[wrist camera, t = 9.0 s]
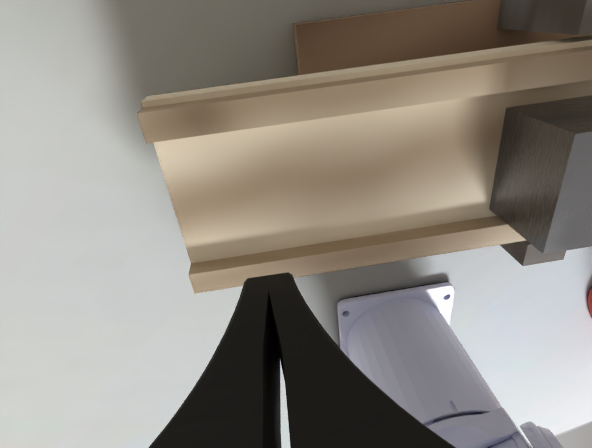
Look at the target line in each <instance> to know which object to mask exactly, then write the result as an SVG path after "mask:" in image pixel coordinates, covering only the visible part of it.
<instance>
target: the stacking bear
mask: <svg viewBox="0 0 592 448" xmlns="http://www.w3.org/2000/svg"><path fill="white" fill-rule="evenodd" d="M588 305H589V311H590V314H591V317H592V288H591V290H590V292H589V296H588Z"/></svg>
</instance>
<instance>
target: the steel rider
mask: <svg viewBox="0 0 592 448" xmlns="http://www.w3.org/2000/svg"><path fill="white" fill-rule="evenodd" d="M489 210H491V211H492V212H493V213H494V214H495V215H497V216H498V217H499V218H500V219H501V220H503V221H504V222H505V223H506V224H508V225H509V226H510V227H511V228H512V229H514V230H515V231H516V232H517V233H518V234H520V235H521V236H522V237H523V238H524V239H526V240H527V241H528V242H529V243H530V244H532V245H533V246H534V247H535V248H537V249H538V250H539V251H540V252H541V253H543V254H546V253H553V252H559V251H565V250H571V249H577V248H583V247H590V246H592V95H590V96H583V97H576V98H569V99H562V100H555V101H548V102H542V103H535V104H528V105H521V106H514V107H507V108H506V111H505V117H504V123H503V129H502V135H501V141H500V147H499V153H498V159H497V165H496V171H495V177H494V183H493V189H492V194H491V200H490V206H489Z"/></svg>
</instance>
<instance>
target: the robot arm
mask: <svg viewBox="0 0 592 448" xmlns="http://www.w3.org/2000/svg"><path fill="white" fill-rule="evenodd" d="M446 294H447V295H446ZM444 295H446V296H444ZM453 296H454V287H453V285H452V284H451V283H449V282H445V283H439V284H433V285H427V286H421V287H415V288H409V289H403V290H397V291H391V292H385V293H379V294H373V295H367V296H361V297H355V298H349V299H343V300H341V301H339V303H338V304H337V311H338V324H339V337H340V348H339V347H338V346H337V344H336V343H335V342H334V341H333V340H332V338H331V337H330V336H329V335H328V333H327V332H326V331H325V330H324V328H323V327H322V325H321V324H320V323H319V321H318V320H317V319H316V317H315V316H314V314H313V313H312V311H311V310H310V308H309V307H308V305H307V304H306V302H305V300H304V299H303V297H302V295H301V293H300V291H299V290H298V288H297V285H296V283H295V281H294V278H293V275H292V274H290V273H289V272H286V273H280V274H273V275H266V276H259V277H253V278H247V279H246V280H245V282H244V285H243V289H242V292H241V295H240V298H239V301H238V303H237V306H236V308H235V311H234V313H233V316H232V318H231V320H230V322H229V325H228V327H227V329H226V331H225V334H224V336H223V338H222V339H221V341H220V343H219V345H218V347H217V349H216V351H215V353H214V355H213V357H212V359H211V360H210V362H209V364H208V365H207V367H206V369H205V371H204V372H203V374H202V376H201V377H200V379H199V380H198V382H197V383H196V385H195V387H194V388H193V390H192V391H191V393H190V394H189V395H188V397H187V398H186V400H185V401H184V403H183V404H182V405H181V407H180V408H179V410H178V411H177V412H176V414H175V415H174V417H173V418H172V419H171V421H170V422H169V423H168V424H167V426H166V427H165V428H164V430H163V431H162V432H161V433H160V434H159V436H158V437H157V438H156V439H155V440H154V442H153V443H152V444H151V445H150V447H149V448H281V431H280V360H281V365H282V370H283V375H284V380H285V386H286V397H287V409H288V421H289V433H290V445H291V448H531V447H530V445H529V443H528V442H527V441H526V439H525V438H524V436H523V435H522V434H521V432H520V431H519V429H518V428H517V427H516V425H515V424H514V422H513V421H512V420H511V418H510V417H509V415H508V414H507V412H506V411H505V410H504V409H503V408H502V406H501V405H500V403H499V402H498V400H497V399H496V397H495V396H494V394H493V392H492V391H491V389H490V388H489V386H488V385H487V383H486V382H485V380H484V379H483V377H482V375H481V374H480V372H479V371H478V369H477V368H476V366H475V365H474V363H473V361H472V360H471V358H470V357H469V355H468V354H467V352H466V351H465V349H464V348H463V346H462V344H461V343H460V341H459V340H458V338H457V337H456V335H455V334H454V332H453V330H452V329H451V327H450V319H451V312H452V304H453ZM344 311H347V312H346V313H343V312H344ZM520 427H521V429H522V430H523V432H524V434H525V435H526V437H527V438H528V440H529V441H530V443H531V445H532V446H533V448H563V447H562V445H561V444H560V443H559V441H558V440H557V439H556V437H555V436H554V435H553V434H552V432H551V431H550V430H548V429H546V428H543V427H540V426H537V427H536V425H535V424H534V423H532V422H527V423H525V424H523V425H521V426H520Z"/></svg>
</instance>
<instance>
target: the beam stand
mask: <svg viewBox="0 0 592 448" xmlns="http://www.w3.org/2000/svg"><path fill="white" fill-rule="evenodd" d="M293 28H294V38H295V47H296V57H297V67H298V75H305V74H312V73H319V72H326V71H334V70H341V69H348V68H355V67H363V66H370V65H377V64H385V63H392V62H399V61H406V60H414V59H421V58H428V57H435V56H443V55H450V54H457V53H465V52H472V51H479V50H486V49H494V48H501V47H508V46H515V45H523V44H530V43H537V42H545V41H552V40H559V39H566V38H574V37H581V36H588V35H592V0H469V1H462V2H454V3H447V4H439V5H431V6H424V7H416V8H409V9H401V10H394V11H386V12H378V13H371V14H363V15H356V16H348V17H341V18H333V19H325V20H318V21H310V22H303V23H295V24H293ZM501 246H502V247H503V248H504V249H505V250H506V251H507V252H508V253H509V254H510V255H511V256H512V257H514V258H515V259H516V260H517V261H518V262H519V263H520V264H521V265H522V266H526V265H532V264H538V263H544V262H550V261H556V260H562V259H564V256H565V252H566V250H565V251H559V252H553V253H546V254H543V253H541V252H540V251H539V250H538V249H537V248H535V247H534V246H533V245H532V244H530V243H529V242H528V241H527V240H526V241H520V242H513V243H507V244H501Z"/></svg>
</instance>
